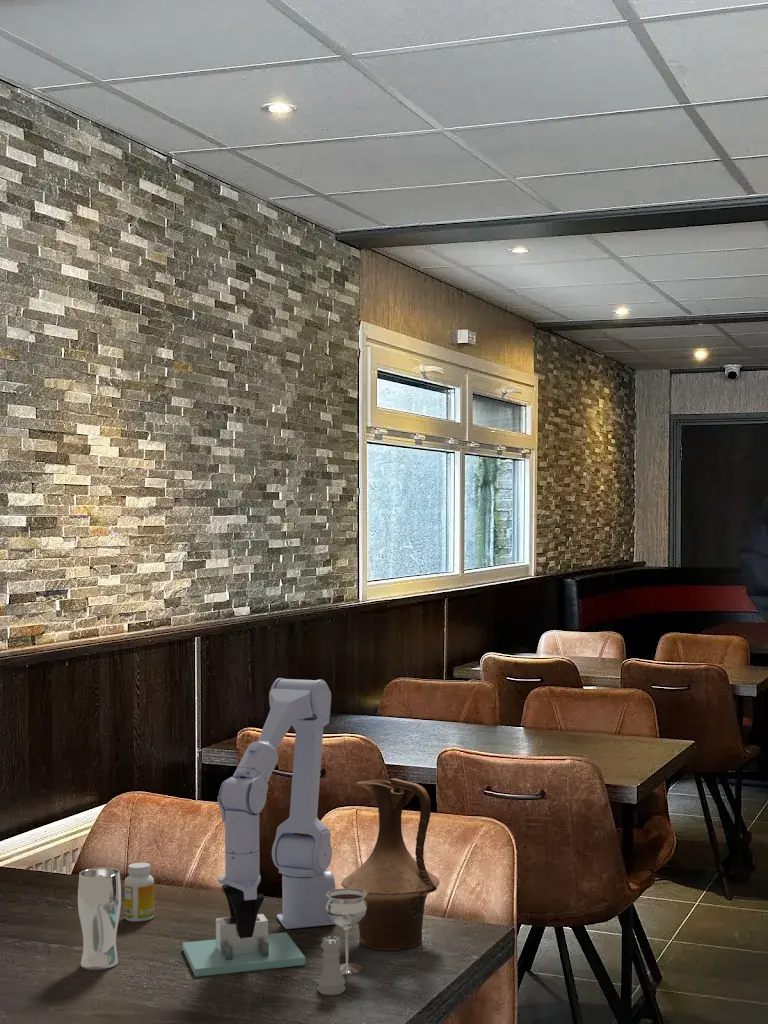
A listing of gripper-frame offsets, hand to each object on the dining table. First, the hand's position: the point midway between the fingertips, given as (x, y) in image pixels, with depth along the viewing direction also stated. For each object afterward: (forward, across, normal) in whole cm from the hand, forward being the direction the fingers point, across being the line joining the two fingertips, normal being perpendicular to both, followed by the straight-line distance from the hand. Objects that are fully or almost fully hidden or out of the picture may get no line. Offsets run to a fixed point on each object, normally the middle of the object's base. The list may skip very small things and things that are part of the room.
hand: (242, 932), depth 209 cm
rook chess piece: (+4, +20, +10) cm, 23 cm away
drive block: (+3, 0, 0) cm, 3 cm away
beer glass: (+4, -4, -23) cm, 24 cm away
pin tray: (+4, 0, 0) cm, 4 cm away
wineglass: (+4, +11, +15) cm, 19 cm away
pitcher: (+4, 0, +26) cm, 26 cm away
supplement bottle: (+4, -28, -14) cm, 32 cm away
